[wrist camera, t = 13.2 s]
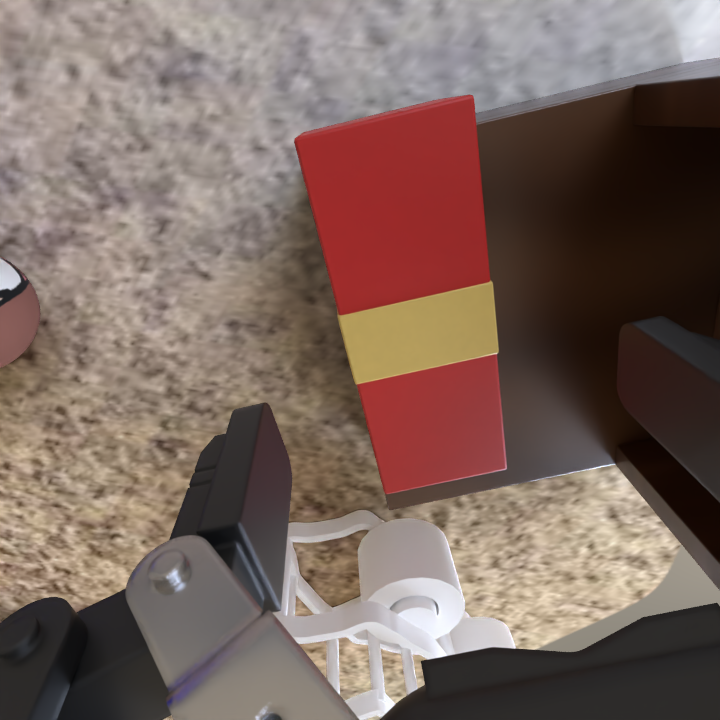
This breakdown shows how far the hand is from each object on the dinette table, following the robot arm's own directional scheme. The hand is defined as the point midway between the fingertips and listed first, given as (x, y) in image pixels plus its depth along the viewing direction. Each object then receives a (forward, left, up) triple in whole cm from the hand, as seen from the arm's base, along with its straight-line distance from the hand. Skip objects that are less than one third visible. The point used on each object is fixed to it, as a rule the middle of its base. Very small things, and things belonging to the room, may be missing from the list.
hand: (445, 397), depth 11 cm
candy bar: (0, 0, -8) cm, 8 cm away
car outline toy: (+24, -3, -13) cm, 28 cm away
